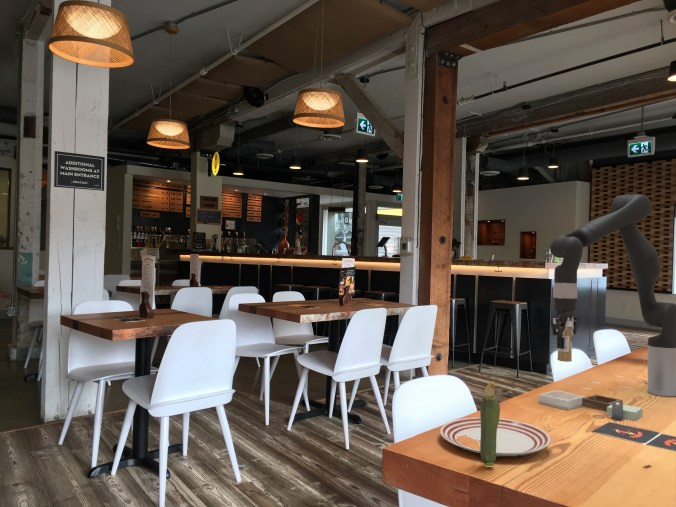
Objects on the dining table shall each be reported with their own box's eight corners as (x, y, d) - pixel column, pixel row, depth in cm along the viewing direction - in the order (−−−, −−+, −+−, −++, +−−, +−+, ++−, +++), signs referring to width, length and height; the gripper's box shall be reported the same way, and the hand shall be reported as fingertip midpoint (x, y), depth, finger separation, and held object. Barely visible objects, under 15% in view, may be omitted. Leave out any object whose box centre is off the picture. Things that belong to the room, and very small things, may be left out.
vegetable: (477, 463, 124) (477, 377, 124) (495, 463, 125) (495, 377, 125) (484, 470, 120) (484, 382, 120) (502, 470, 120) (503, 382, 120)
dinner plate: (492, 472, 119) (492, 458, 119) (419, 436, 144) (419, 424, 144) (574, 453, 132) (574, 440, 132) (495, 423, 156) (495, 411, 156)
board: (614, 412, 169) (614, 402, 169) (642, 417, 164) (642, 408, 164) (606, 416, 165) (606, 407, 165) (635, 422, 159) (635, 412, 159)
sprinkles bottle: (574, 361, 176) (575, 320, 176) (566, 362, 173) (567, 321, 173) (562, 359, 180) (562, 319, 180) (554, 360, 177) (554, 319, 177)
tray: (555, 398, 184) (555, 390, 184) (584, 405, 176) (584, 396, 176) (538, 403, 178) (538, 394, 178) (568, 410, 170) (568, 401, 170)
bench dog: (614, 417, 163) (614, 400, 163) (624, 419, 160) (624, 402, 160) (610, 418, 161) (610, 402, 161) (620, 421, 159) (620, 404, 159)
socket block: (595, 401, 181) (595, 394, 181) (622, 407, 173) (622, 400, 174) (581, 406, 175) (581, 398, 175) (609, 412, 168) (609, 404, 168)
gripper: (565, 295, 184) (564, 344, 184) (543, 296, 175) (542, 348, 175) (586, 297, 178) (586, 347, 178) (565, 297, 169) (564, 351, 169)
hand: (564, 347), depth 176 cm, fingers closed on sprinkles bottle, 4 cm apart
